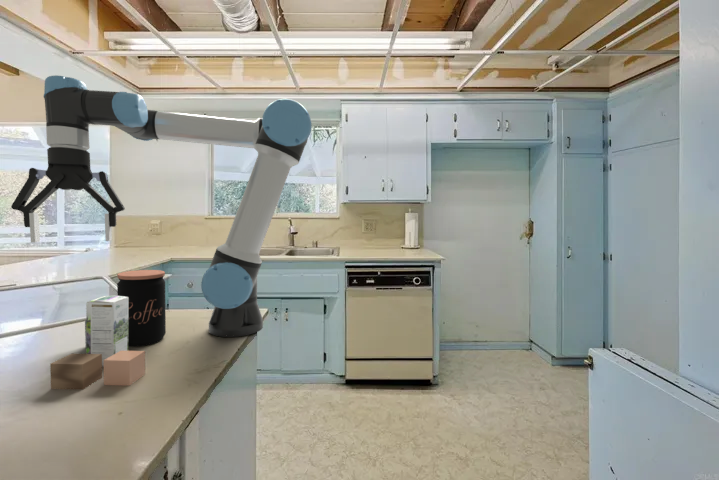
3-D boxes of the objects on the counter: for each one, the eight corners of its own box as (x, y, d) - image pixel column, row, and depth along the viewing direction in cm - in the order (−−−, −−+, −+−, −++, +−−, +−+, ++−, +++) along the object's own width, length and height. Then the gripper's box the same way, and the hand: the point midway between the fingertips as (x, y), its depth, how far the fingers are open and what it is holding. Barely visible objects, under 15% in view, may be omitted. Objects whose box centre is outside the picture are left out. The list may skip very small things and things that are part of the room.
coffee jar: (115, 350, 85) (113, 277, 84) (121, 336, 95) (120, 270, 94) (165, 344, 90) (164, 274, 89) (166, 331, 100) (165, 269, 98)
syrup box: (103, 357, 81) (101, 295, 80) (129, 356, 81) (128, 295, 81) (85, 367, 75) (84, 301, 74) (114, 367, 76) (113, 301, 75)
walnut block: (102, 378, 71) (101, 354, 71) (82, 390, 66) (82, 364, 66) (72, 377, 71) (71, 353, 71) (51, 389, 66) (50, 363, 66)
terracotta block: (145, 374, 73) (145, 351, 73) (129, 385, 68) (129, 360, 68) (121, 373, 73) (120, 350, 73) (103, 385, 68) (103, 360, 68)
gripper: (135, 155, 89) (138, 239, 90) (3, 147, 78) (9, 241, 79) (130, 150, 82) (134, 240, 83) (-14, 140, 71) (-8, 243, 73)
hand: (73, 241), depth 81 cm, fingers open, 13 cm apart
